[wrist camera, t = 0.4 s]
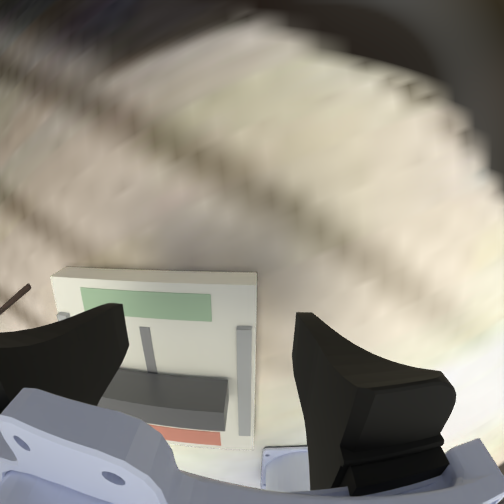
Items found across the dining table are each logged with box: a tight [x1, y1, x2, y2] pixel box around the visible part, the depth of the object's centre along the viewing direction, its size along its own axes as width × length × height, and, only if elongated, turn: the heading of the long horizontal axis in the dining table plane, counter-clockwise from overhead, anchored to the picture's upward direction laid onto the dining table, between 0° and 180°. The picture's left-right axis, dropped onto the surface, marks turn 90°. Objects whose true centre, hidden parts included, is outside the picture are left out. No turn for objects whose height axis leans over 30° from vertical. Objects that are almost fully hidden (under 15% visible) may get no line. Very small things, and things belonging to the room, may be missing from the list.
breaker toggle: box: [97, 369, 229, 431], centre depth 20 cm, size 2×12×4 cm, turn 89°
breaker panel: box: [50, 267, 257, 450], centre depth 23 cm, size 17×16×3 cm
